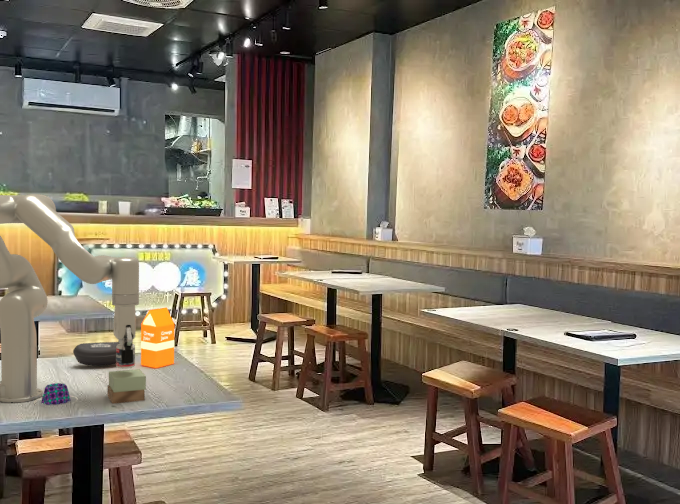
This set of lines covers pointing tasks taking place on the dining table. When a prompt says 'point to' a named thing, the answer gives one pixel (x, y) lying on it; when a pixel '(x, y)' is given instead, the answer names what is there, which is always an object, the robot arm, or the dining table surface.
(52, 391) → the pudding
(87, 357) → the glasses case
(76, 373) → the dining table surface
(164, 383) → the dining table surface
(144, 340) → the orange juice
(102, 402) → the dining table surface
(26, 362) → the robot arm
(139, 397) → the tower base slab
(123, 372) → the tower top slab
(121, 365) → the pill bottle
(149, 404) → the dining table surface
